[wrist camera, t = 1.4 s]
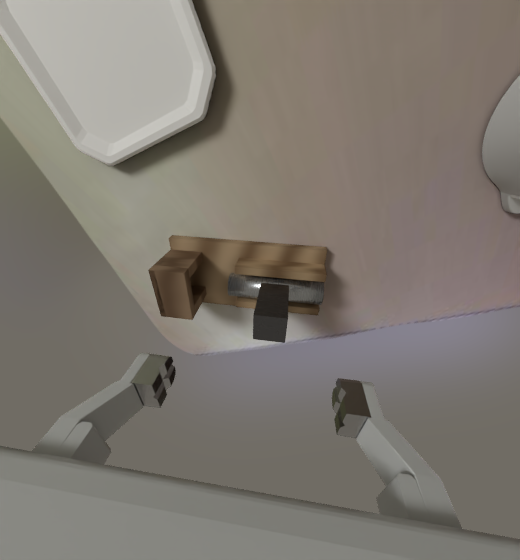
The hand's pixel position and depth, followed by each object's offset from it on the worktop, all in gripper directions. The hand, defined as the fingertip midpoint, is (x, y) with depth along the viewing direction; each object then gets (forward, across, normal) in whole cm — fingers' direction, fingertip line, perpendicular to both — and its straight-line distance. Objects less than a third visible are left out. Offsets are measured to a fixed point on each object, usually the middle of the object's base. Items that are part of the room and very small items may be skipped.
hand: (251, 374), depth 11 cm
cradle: (+25, +5, +10) cm, 28 cm away
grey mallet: (+24, 0, +10) cm, 26 cm away
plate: (+26, +20, -18) cm, 37 cm away
